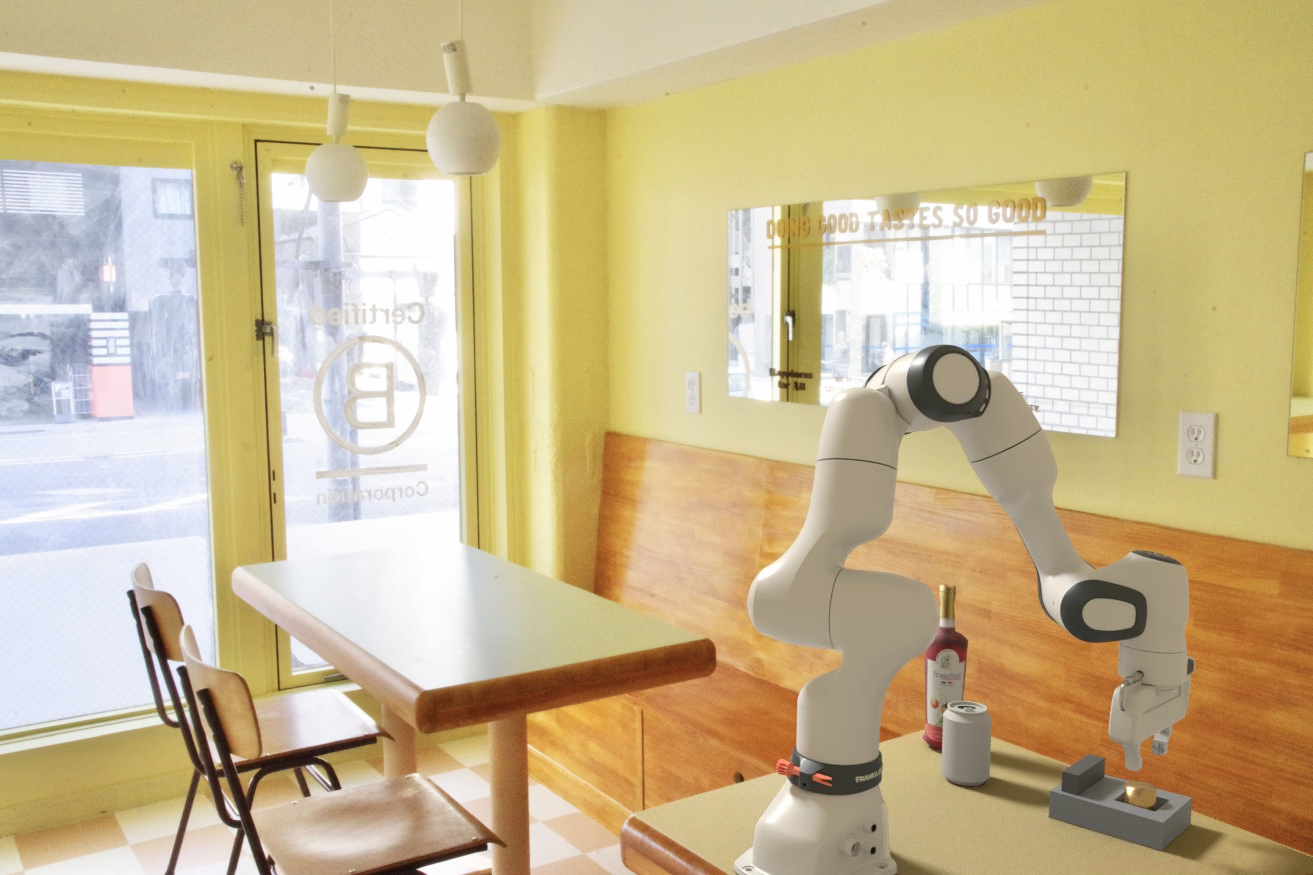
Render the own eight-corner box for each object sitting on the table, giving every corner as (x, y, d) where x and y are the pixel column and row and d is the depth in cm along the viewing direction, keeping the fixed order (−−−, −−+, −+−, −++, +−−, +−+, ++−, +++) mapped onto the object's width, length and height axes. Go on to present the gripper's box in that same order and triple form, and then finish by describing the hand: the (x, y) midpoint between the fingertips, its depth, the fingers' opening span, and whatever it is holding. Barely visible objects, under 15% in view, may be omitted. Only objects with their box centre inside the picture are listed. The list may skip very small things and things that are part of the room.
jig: (1161, 850, 156) (1164, 801, 155) (1048, 816, 167) (1050, 770, 166) (1190, 824, 165) (1193, 777, 164) (1081, 793, 176) (1083, 749, 175)
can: (984, 771, 185) (987, 699, 184) (993, 789, 177) (996, 713, 176) (937, 768, 185) (940, 697, 184) (944, 786, 178) (947, 711, 177)
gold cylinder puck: (1148, 835, 161) (1150, 794, 160) (1118, 827, 164) (1120, 786, 163) (1159, 826, 164) (1160, 786, 163) (1129, 818, 167) (1131, 778, 166)
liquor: (923, 752, 193) (928, 589, 191) (918, 737, 200) (923, 581, 198) (967, 754, 192) (973, 591, 190) (960, 739, 199) (966, 582, 197)
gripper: (1146, 683, 151) (1140, 785, 152) (1200, 658, 166) (1195, 751, 167) (1099, 674, 156) (1094, 772, 156) (1155, 650, 170) (1151, 740, 171)
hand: (1146, 761), depth 162 cm, fingers open, 8 cm apart
